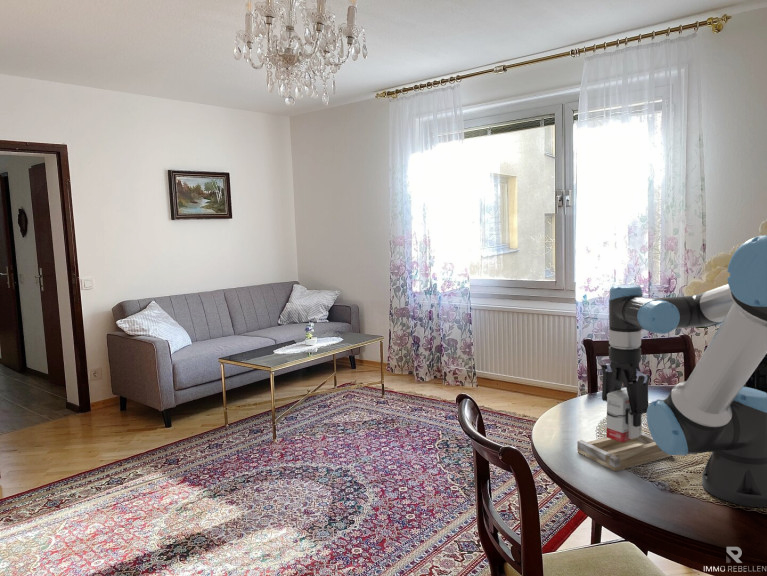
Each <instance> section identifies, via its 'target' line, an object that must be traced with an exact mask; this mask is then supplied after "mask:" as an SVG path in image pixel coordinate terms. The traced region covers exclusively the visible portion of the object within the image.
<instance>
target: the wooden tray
mask: <svg viewBox="0 0 767 576" xmlns="http://www.w3.org/2000/svg"><path fill="white" fill-rule="evenodd" d="M576 443H577V448H576V449H577V451H578V452H577V453H579V454H581V455H583V456H584V455H585V457H586V458H588V457H589V458H588V459H590V460H592V461H594V462H597V463H599V464H600V465H601V466H604V467H606V468H608V469H610V470H611V471H613V472H618V471H623V470H626V469H630V468H633V467H637V466H640V465H643V464H647V463H651V462H655V461H659V460H662V459H666V458H669V457H672V456H673V455H669V454H667V453H665V452H663V451H662V450H661V449H660V448H659V447H658V446H657V444H656V443H655V442H654V440H653V438H652V436H651V434H650V435H649V434H647V433H646V432H645V433H644V432H643V431H642V435H641V436H639V437H637V438H633V439H631V440H628V441H626V442H623V443H622V442H619V441H616V440H613V439H610V438H607V437H602V438H598V439H594V440H589V441H585V440H583V439H580V440H577V442H576Z"/></svg>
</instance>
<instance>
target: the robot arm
mask: <svg viewBox="0 0 767 576" xmlns="http://www.w3.org/2000/svg"><path fill="white" fill-rule="evenodd" d="M726 271H727V273H729V276H728V277H726V280H727V284H724V285H721V286H718V287H715V288H713V289H709V290H707V291H704V292H702V293H701V292H700V293H699V294H695V295H685V296H670V297H667V296H666V297H653V298H651V297H645V296H644V295H643V289H642V287H641V286H640V285H636V284H616V285H613V286H611V288H610V289H609V298H608V323H609V324H608V325H609V327H608V344H609V345H610V346H608V359H609V361H610V362H609V363H605V364H603V363H602V364H601V371H602V384H601V390H602V391H601V400H602V401H603V402H606V403H607V394H608V393H610V392H613V391H616V390H620V389H622V386H623V385H624V388H627V393H628V397H629V402H630V407H631V413H629V436H628V438H629V439H633V438H637V437H639V426H640V425H641V414H642V415H643V414H646V423H647V428H648V430H649V433H650V436H652V438H653V440H654V442H655V443H656V444H657V446H658V447H659V448H660V449H661V450H662V451H663V452H665V453H667V454H669V455H672V456H682V457H683V456H684V457H685V456H688V455H695V454H696V455H697V454H705V453H710V452H711V453H710V456H709V458H708V460H707V462H706V465H705V467H704V469H703V471H702V476H701V478H702V479H701V485H702V487H703V488H704V490H705V491H707V492H708V493H709V494H710V495H712V496H714V497H716V498H717V499H720V500H722V501H726V502H728V503H732V504H734V505H739V506H745V507H751V508H767V392H766V391H762V390H761V389H760V390H759V389H756V388H752V387H748V386H745V385H746V383H747V382H748V381H749V379H750V378H751V376H752V375H753V373H754V372H755V371H756V369H757V368H758V366H759V365H760V364H761V362H762V361H763V359H764V358H765V357H766V355H767V235H764V234H763V235H759V236H755V237H752V238H750V239H748V240H747V241H745V242H743V243H742V244H741V245H740V246H739V247H737V249H736V250H735V251H734V253H733V254H732V256H731V258H730V260H729V262H728V265H727V270H726ZM715 326H719V327H718V328H717V330H716V331H715V333H714V335H713V337H712V338H711V340H710V342H709V343H708V345H707V347H706V349H705V350H704V352H703V354H702V355H701V357H700V358H699V360H698V362H697V363H696V365H695V367H694V368H693V370H692V372H691V373H690V375H689V377H688V378H687V380H686V381H680V382H678V383H676V384H675V385H674V387H672V388H671V391H670V393H669V394H668V396H667V397H666V398H665V399H661V398H660V399H659V398H658V399H656V400H653V401H651V402H650V403H649V381H650V378H651V377H650V376H651V375H650V374H644V372H643V373H642V372H641V369H640V365H639V364H641V362H642V361H641V360H642V348H641V346H642V330H644V331H647V332H649V333H653V334H660V335H666V334H669V333H671V332H673V331H674V330H679V329H687V328H689V329H690V328H701V327H702V328H703V327H707V328H708V327H710V328H711V327H715ZM636 408H637V409H636Z"/></svg>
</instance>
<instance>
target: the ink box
mask: <svg viewBox="0 0 767 576" xmlns="http://www.w3.org/2000/svg"><path fill="white" fill-rule="evenodd" d="M636 409H637V408H636ZM629 413H631V407H630V402H629V397H628V393H627V388H626V387H623V388H622V387H621V389H620V390H616V391H613V392H610V393H608V394H607V402H606V437H607V438H610V439H613V440H616V441H619V442H622V443H623V442H626V441H628V440H631V439H629V438H628V436H629ZM642 420H643V414H641V425H640V426H639V436H641V435H642V432H643V431H642V429H643V428H642V427H643V426H642V425H643V424H642V423H643V421H642ZM606 437H605V438H606Z"/></svg>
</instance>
